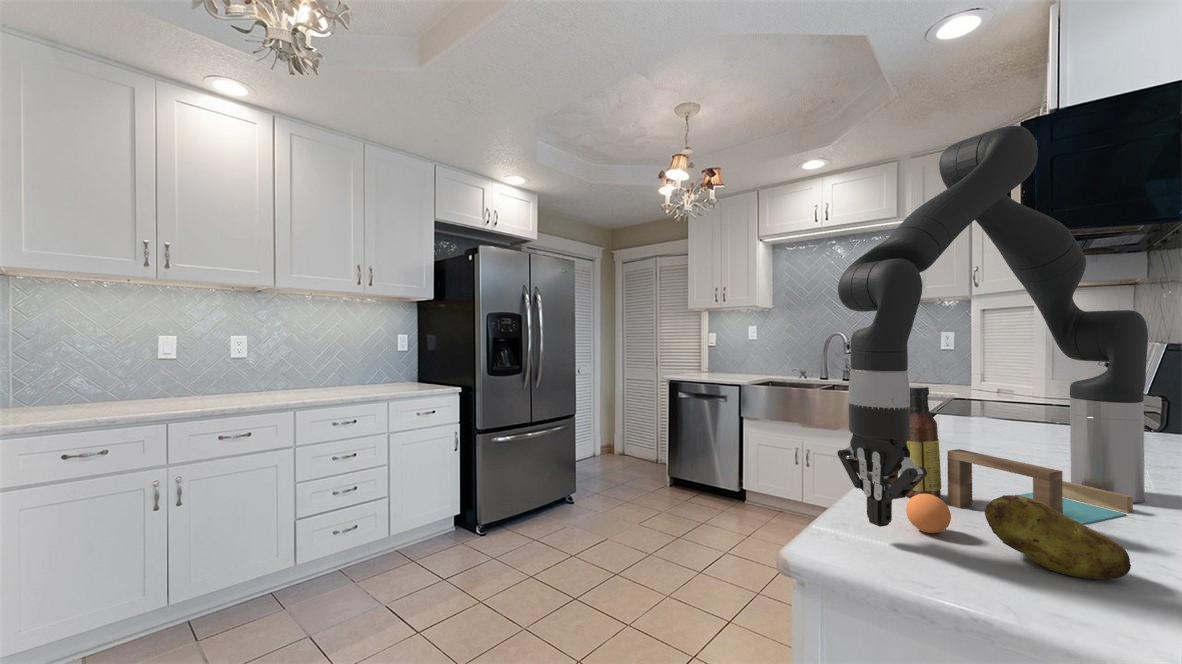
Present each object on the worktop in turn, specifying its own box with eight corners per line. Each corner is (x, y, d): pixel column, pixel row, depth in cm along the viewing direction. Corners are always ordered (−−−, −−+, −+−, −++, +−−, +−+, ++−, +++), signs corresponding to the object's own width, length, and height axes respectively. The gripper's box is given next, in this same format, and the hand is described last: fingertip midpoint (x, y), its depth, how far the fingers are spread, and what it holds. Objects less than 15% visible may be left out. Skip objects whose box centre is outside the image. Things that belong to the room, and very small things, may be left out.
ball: (923, 522, 77) (923, 487, 77) (960, 536, 71) (960, 498, 71) (897, 527, 75) (897, 491, 75) (933, 541, 70) (932, 502, 70)
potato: (1109, 599, 54) (1108, 526, 54) (975, 553, 66) (974, 493, 66) (1138, 581, 58) (1137, 513, 58) (1006, 541, 70) (1006, 484, 70)
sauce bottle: (937, 493, 90) (936, 385, 91) (945, 504, 85) (944, 388, 85) (895, 488, 93) (894, 383, 93) (900, 499, 88) (899, 387, 88)
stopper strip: (1051, 491, 91) (1051, 478, 91) (1132, 511, 81) (1132, 496, 81) (1046, 492, 91) (1046, 478, 91) (1127, 513, 80) (1127, 497, 80)
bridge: (960, 502, 86) (959, 449, 86) (1062, 534, 72) (1062, 470, 72) (947, 504, 85) (947, 450, 85) (1049, 536, 71) (1049, 472, 71)
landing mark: (1037, 492, 90) (1037, 491, 90) (1126, 515, 79) (1126, 514, 79) (993, 500, 87) (993, 499, 87) (1079, 525, 75) (1079, 523, 75)
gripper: (944, 407, 65) (944, 538, 65) (859, 395, 77) (859, 506, 77) (902, 409, 63) (902, 546, 62) (821, 397, 75) (822, 511, 75)
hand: (878, 524), depth 70 cm, fingers closed
